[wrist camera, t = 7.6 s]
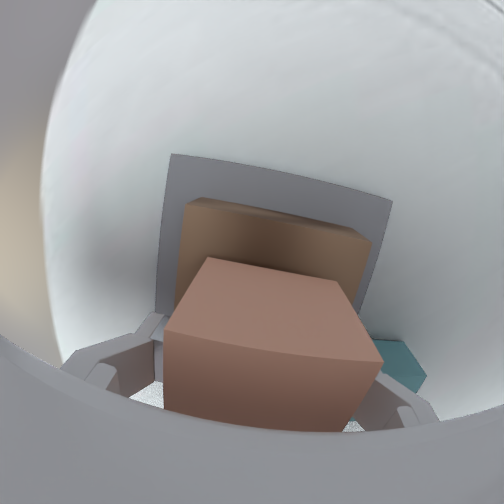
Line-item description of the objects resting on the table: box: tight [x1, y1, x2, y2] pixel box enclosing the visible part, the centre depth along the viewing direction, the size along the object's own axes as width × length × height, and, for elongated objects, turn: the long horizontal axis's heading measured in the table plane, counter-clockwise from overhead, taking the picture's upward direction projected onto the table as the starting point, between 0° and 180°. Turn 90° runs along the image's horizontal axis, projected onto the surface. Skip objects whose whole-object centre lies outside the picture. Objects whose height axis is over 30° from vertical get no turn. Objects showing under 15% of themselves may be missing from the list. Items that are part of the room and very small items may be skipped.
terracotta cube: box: [163, 257, 384, 432], centre depth 9 cm, size 5×5×5 cm
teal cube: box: [349, 340, 427, 421], centre depth 15 cm, size 4×4×4 cm
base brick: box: [174, 197, 372, 311], centre depth 14 cm, size 8×8×3 cm
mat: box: [155, 154, 393, 316], centre depth 15 cm, size 12×12×1 cm
